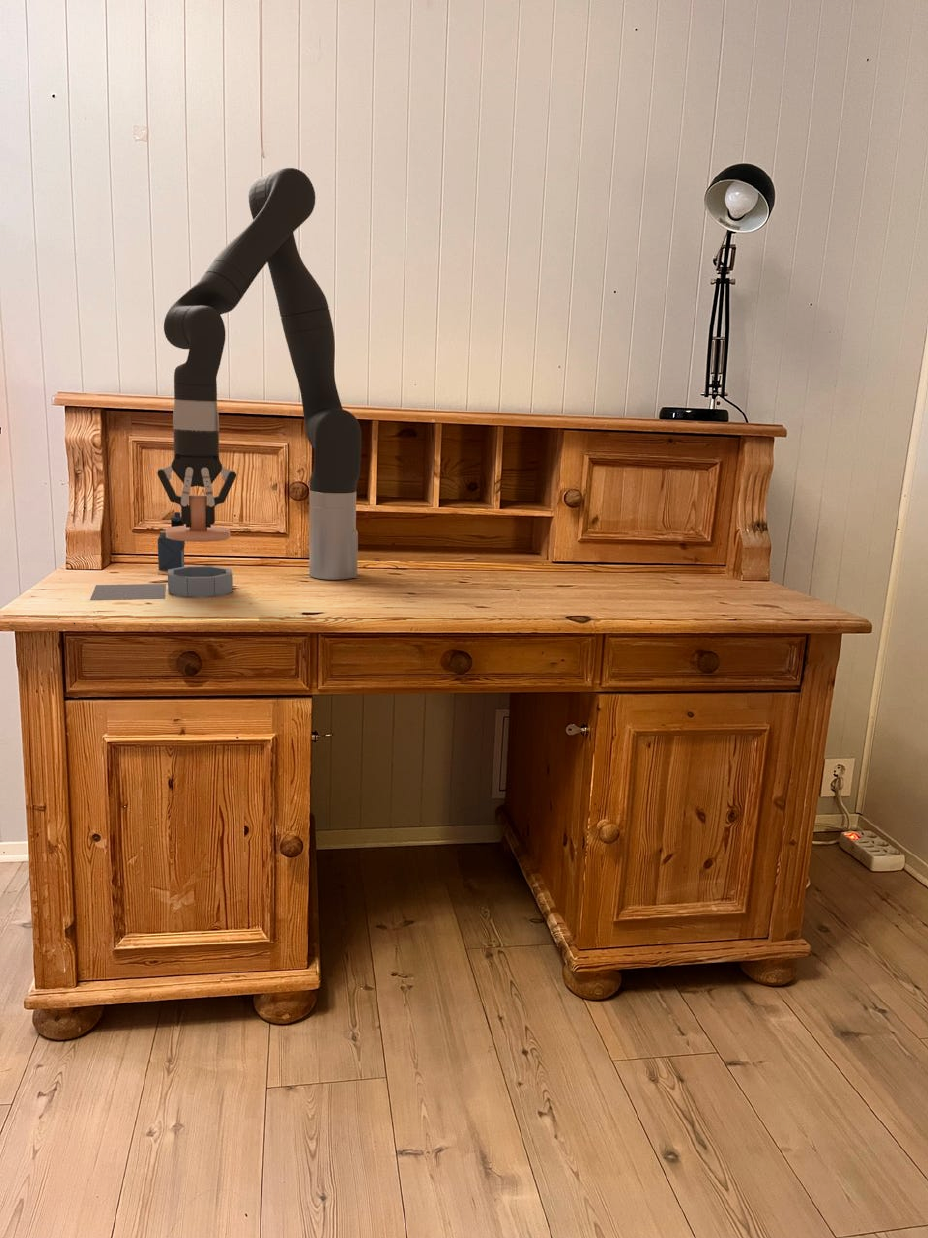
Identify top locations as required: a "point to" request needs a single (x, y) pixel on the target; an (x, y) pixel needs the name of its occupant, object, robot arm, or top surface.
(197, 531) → the lid
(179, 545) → the vaping device
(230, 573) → the bowl
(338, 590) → the top surface
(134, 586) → the mat
